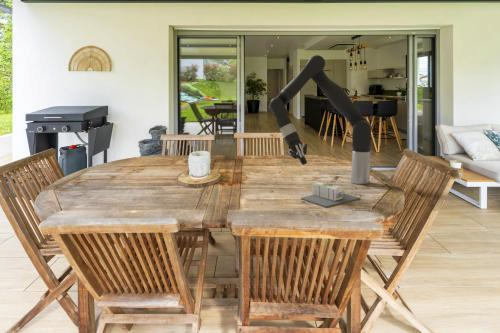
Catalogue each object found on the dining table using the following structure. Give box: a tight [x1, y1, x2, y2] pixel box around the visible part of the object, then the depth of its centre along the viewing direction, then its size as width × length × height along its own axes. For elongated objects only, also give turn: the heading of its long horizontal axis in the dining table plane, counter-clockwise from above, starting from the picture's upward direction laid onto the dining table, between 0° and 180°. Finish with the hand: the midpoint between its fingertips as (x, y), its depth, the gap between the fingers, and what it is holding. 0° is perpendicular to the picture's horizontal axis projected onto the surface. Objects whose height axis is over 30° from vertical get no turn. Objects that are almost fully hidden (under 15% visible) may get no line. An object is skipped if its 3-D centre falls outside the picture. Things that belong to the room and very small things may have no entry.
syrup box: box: [311, 181, 345, 201], centre depth 177 cm, size 6×6×14 cm
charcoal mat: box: [300, 192, 361, 208], centre depth 176 cm, size 22×16×1 cm
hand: (304, 164), depth 195 cm, fingers closed
